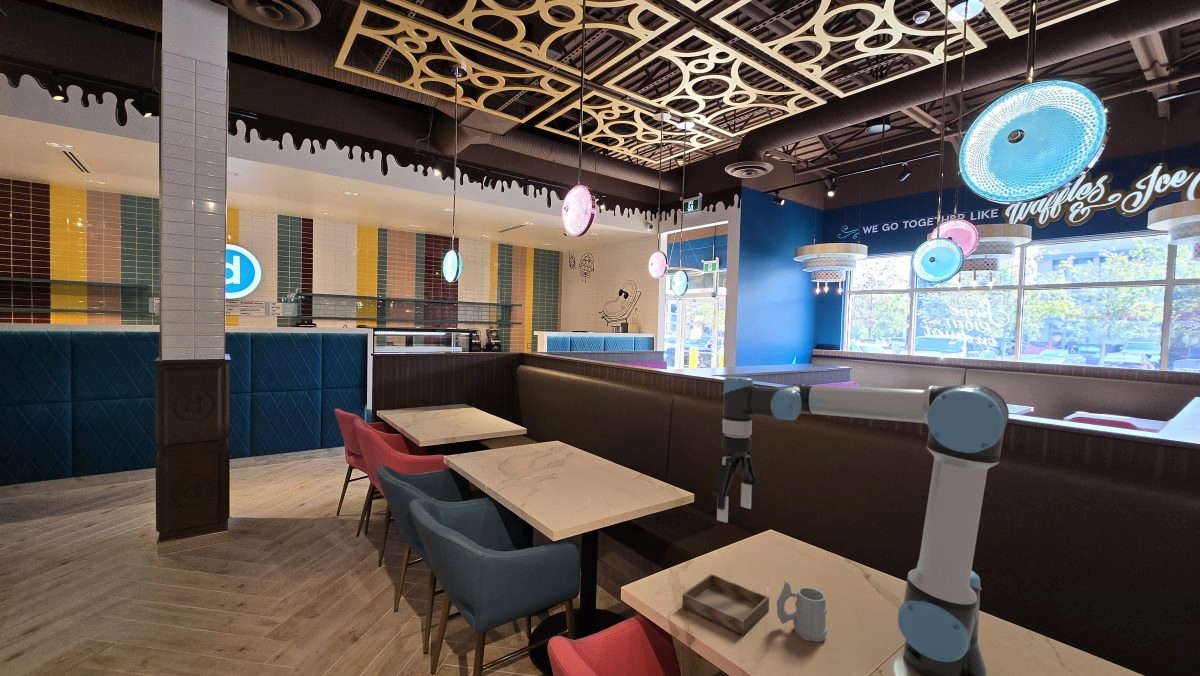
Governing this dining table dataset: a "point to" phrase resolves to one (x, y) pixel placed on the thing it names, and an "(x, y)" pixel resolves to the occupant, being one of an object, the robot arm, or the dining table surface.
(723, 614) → the wooden tray
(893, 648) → the dining table surface
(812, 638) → the mug
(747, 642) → the dining table surface
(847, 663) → the dining table surface
